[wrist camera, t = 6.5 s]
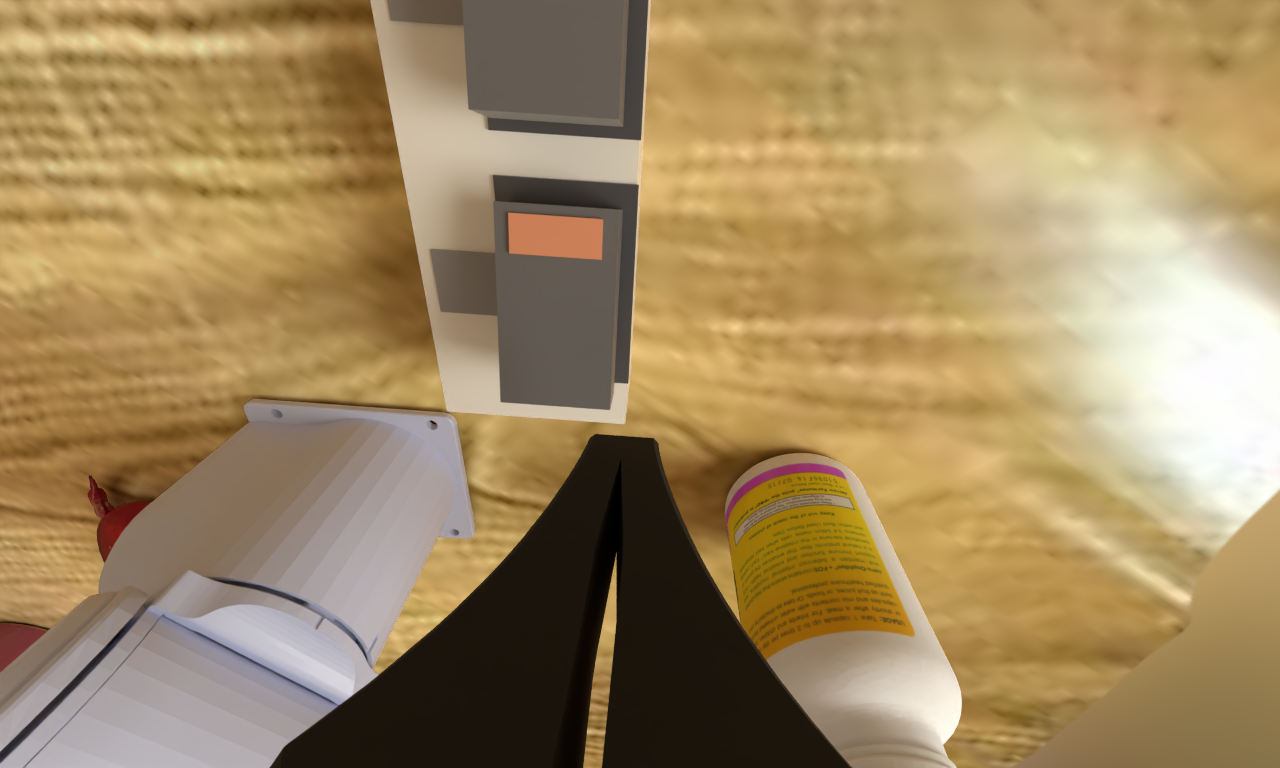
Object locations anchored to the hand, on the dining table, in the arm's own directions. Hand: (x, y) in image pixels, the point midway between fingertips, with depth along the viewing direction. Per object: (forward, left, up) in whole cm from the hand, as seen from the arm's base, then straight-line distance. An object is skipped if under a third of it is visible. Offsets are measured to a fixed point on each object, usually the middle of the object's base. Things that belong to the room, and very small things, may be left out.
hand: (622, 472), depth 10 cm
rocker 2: (-2, +2, -5) cm, 6 cm away
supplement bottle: (+8, -10, -10) cm, 16 cm away
